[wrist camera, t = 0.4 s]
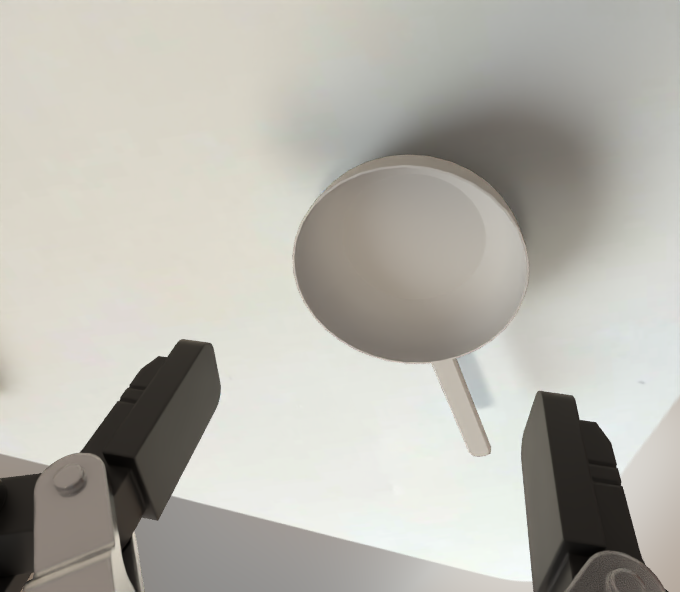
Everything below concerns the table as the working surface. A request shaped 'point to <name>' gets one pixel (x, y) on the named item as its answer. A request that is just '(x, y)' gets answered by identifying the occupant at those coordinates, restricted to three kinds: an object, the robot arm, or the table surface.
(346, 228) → the saucepan
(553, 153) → the table surface
